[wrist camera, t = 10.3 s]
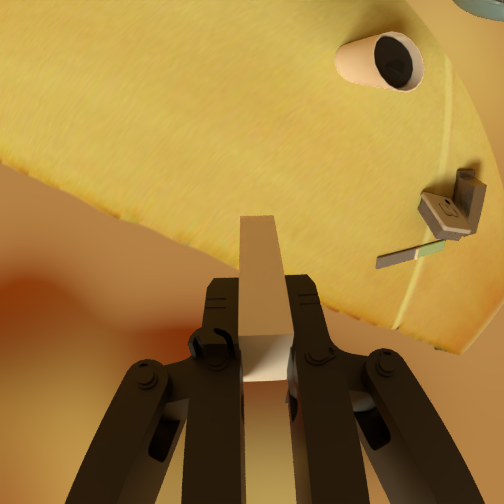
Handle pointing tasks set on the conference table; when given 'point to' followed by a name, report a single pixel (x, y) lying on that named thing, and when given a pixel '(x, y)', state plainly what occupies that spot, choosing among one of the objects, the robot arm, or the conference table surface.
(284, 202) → the conference table surface
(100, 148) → the conference table surface
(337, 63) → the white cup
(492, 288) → the conference table surface
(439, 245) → the green and grey strip
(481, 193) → the block
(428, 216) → the electrical switch
